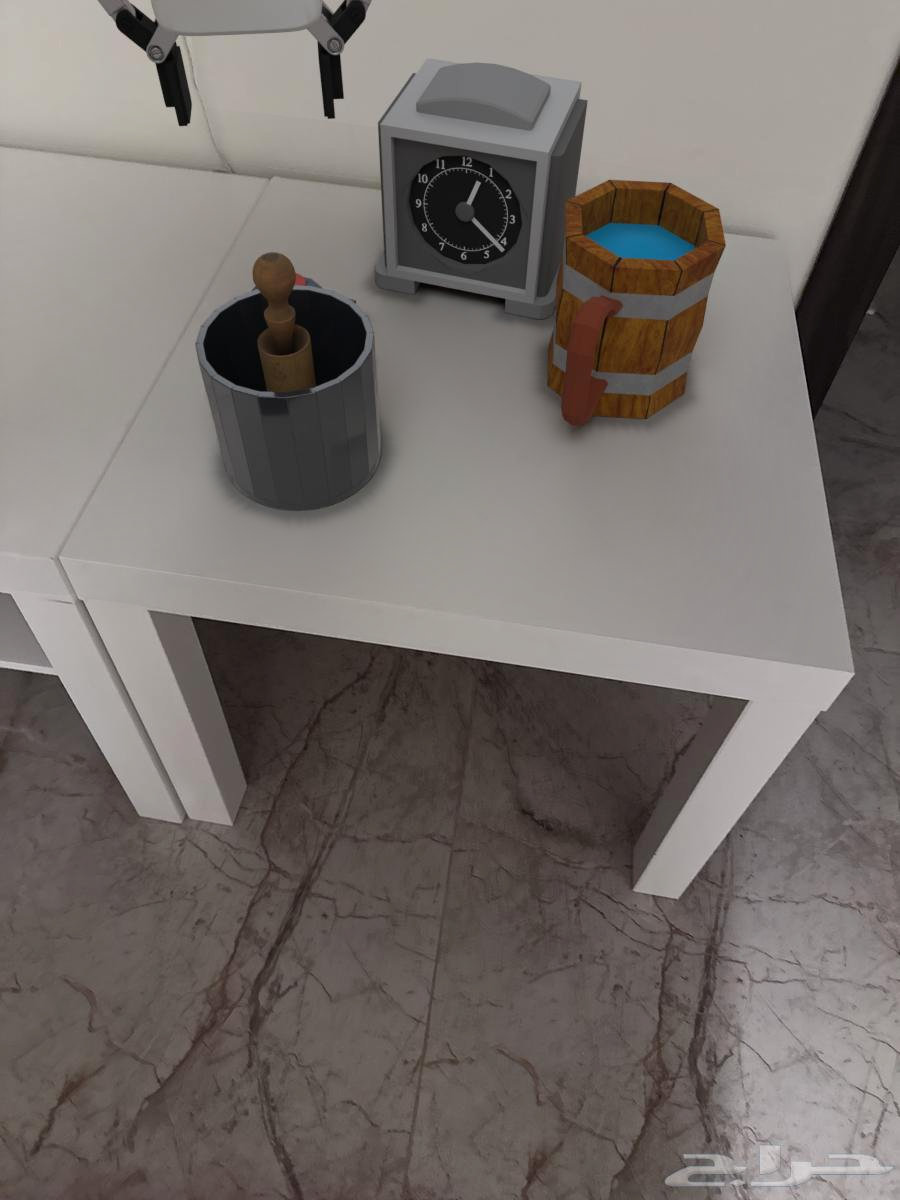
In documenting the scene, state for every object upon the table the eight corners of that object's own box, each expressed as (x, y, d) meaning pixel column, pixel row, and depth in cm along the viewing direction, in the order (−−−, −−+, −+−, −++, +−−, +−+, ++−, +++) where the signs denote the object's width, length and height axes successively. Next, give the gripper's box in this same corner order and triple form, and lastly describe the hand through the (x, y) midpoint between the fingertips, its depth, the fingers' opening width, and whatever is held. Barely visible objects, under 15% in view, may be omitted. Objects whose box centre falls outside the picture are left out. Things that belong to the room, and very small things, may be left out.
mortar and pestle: (247, 460, 77) (205, 271, 63) (284, 411, 81) (252, 222, 66) (318, 483, 76) (292, 295, 61) (353, 432, 80) (335, 243, 65)
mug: (574, 310, 91) (595, 162, 79) (706, 351, 88) (749, 203, 76) (490, 433, 81) (500, 285, 69) (636, 485, 77) (673, 338, 65)
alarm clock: (371, 286, 93) (359, 99, 79) (412, 216, 101) (409, 34, 86) (549, 321, 90) (571, 133, 76) (577, 247, 98) (603, 63, 83)
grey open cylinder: (196, 485, 77) (162, 371, 67) (268, 386, 84) (247, 270, 74) (342, 528, 74) (328, 416, 64) (403, 422, 82) (399, 307, 72)
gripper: (25, -191, 46) (122, 148, 60) (374, -200, 47) (390, 134, 61) (47, -234, 50) (132, 92, 64) (365, -241, 51) (382, 80, 65)
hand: (258, 112), depth 62 cm, fingers open, 9 cm apart
